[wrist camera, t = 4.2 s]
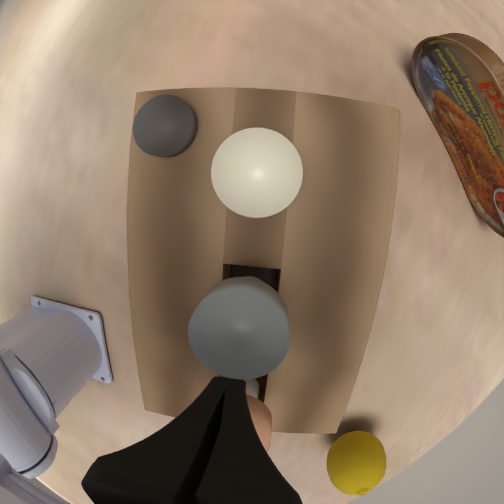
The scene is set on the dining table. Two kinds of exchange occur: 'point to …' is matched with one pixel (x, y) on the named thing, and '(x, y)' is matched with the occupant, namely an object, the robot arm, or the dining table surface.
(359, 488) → the lemon
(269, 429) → the peach pink ball
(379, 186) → the board
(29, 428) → the robot arm
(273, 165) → the knob cream
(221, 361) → the knob slate
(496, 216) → the tin
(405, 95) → the dining table surface
